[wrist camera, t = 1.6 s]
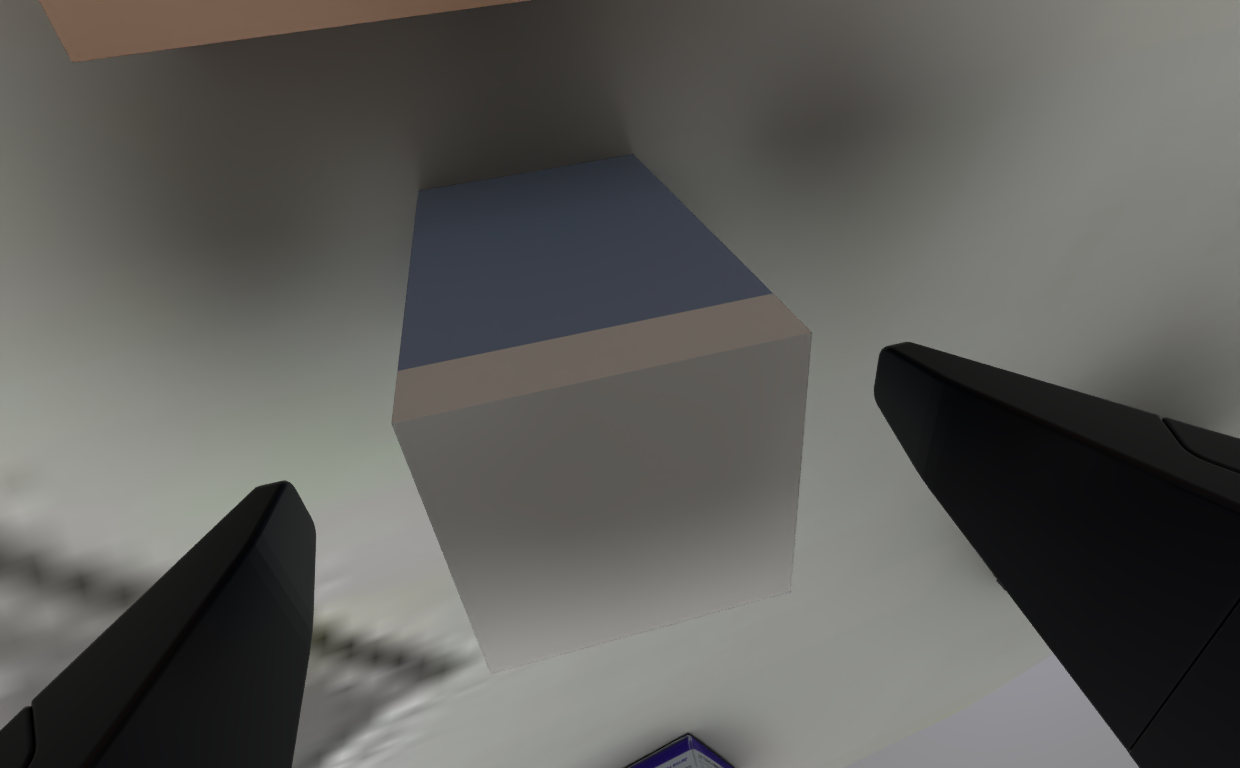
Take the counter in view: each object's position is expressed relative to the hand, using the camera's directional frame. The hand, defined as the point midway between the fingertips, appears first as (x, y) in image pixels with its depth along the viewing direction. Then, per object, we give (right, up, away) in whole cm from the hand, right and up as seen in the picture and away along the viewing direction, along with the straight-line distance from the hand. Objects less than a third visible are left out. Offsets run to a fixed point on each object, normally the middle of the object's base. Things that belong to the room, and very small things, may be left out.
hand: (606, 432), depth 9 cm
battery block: (-1, +3, +5) cm, 6 cm away
